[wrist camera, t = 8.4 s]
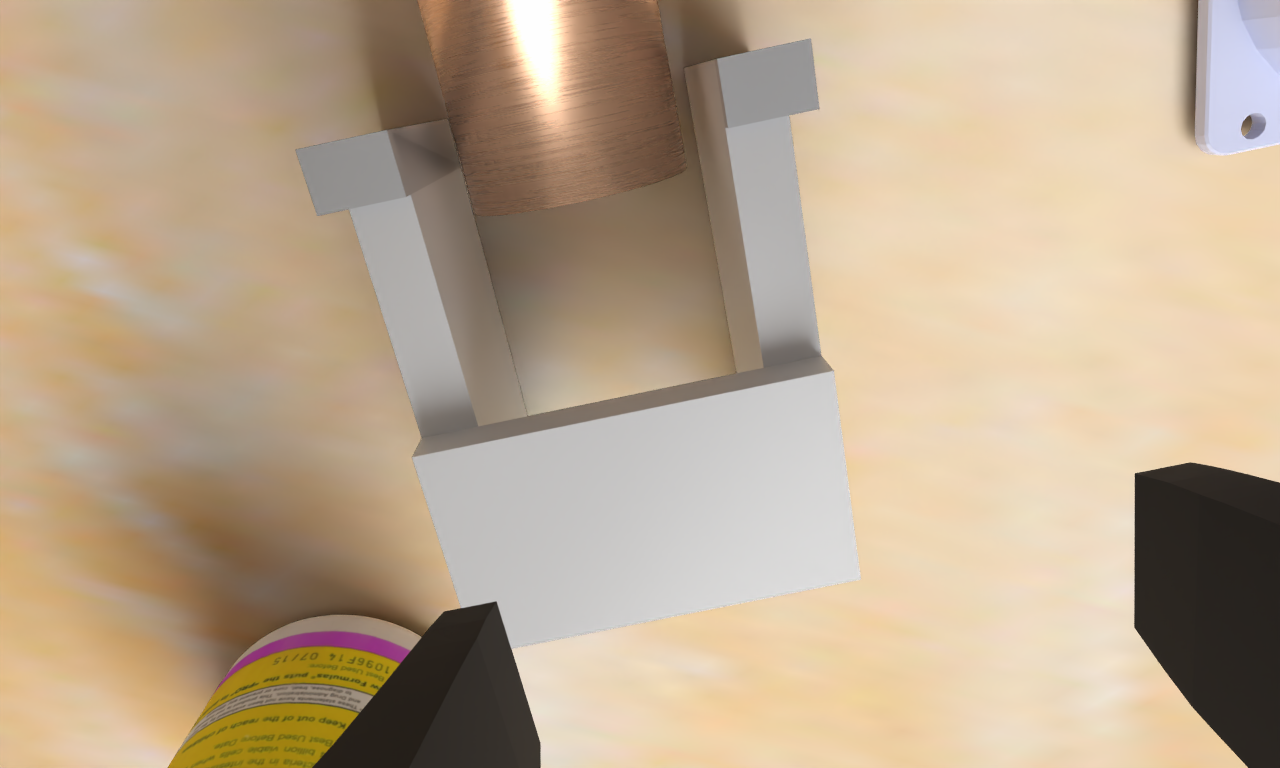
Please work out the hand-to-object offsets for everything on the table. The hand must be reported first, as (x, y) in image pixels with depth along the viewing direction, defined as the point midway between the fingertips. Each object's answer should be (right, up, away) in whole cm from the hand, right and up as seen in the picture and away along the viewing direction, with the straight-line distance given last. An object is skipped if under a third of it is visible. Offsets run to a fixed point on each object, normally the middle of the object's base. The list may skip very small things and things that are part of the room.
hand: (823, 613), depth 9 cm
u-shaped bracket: (-3, +4, +9) cm, 11 cm away
